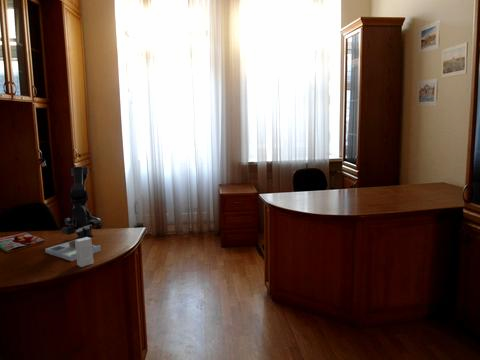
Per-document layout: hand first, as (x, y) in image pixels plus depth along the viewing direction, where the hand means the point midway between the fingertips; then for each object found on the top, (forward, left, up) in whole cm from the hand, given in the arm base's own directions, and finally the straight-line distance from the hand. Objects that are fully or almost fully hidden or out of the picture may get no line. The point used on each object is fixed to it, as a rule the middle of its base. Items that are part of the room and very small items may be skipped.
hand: (83, 243), depth 202 cm
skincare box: (+13, +20, -3) cm, 24 cm away
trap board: (+6, 0, -3) cm, 6 cm away
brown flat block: (+3, -1, -1) cm, 4 cm away
